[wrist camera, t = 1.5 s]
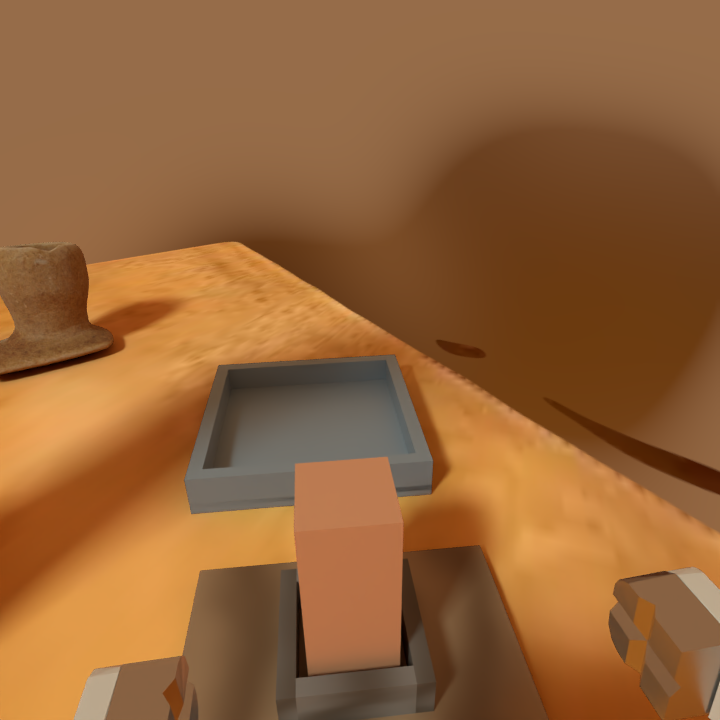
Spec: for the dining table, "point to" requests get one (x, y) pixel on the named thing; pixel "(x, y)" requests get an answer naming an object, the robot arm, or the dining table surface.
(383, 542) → the terracotta block
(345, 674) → the holder
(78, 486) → the dining table surface
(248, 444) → the tray
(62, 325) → the stone cup
